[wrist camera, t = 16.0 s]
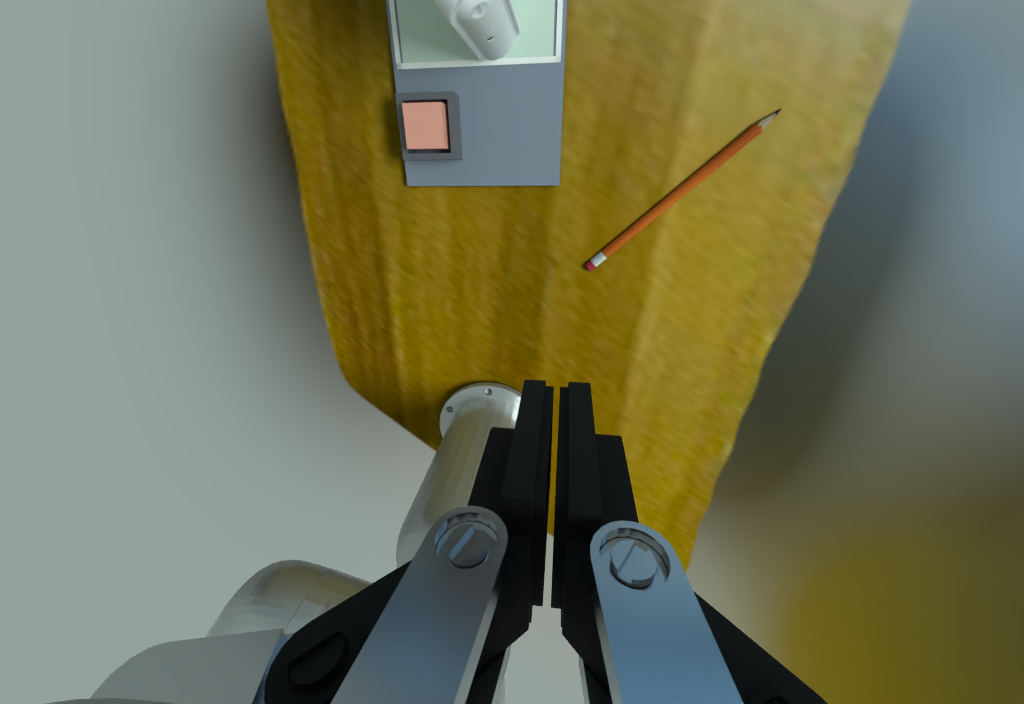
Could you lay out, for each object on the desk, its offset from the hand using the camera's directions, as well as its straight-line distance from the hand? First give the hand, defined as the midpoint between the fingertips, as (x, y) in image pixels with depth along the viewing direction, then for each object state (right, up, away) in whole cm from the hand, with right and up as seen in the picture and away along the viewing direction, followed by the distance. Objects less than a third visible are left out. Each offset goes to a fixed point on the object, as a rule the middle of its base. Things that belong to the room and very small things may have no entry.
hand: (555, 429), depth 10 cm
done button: (-8, +21, +22) cm, 32 cm away
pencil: (+13, +16, +24) cm, 31 cm away
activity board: (-4, +26, +20) cm, 33 cm away
